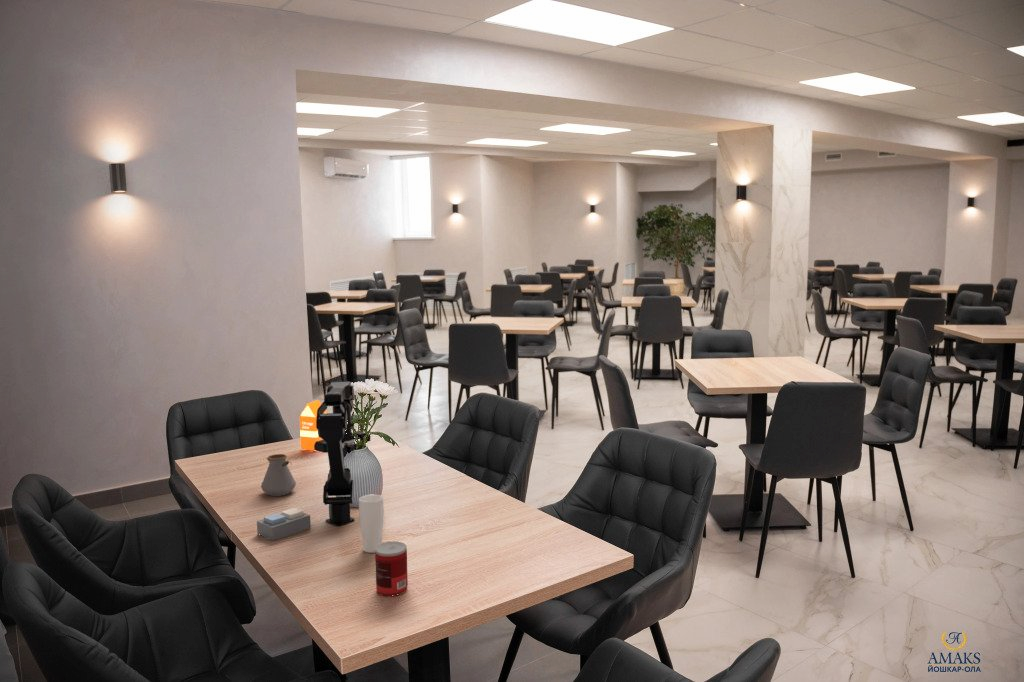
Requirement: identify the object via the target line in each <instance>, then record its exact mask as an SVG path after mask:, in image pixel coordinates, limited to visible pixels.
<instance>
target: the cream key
mask: <svg viewBox="0 0 1024 682" xmlns="http://www.w3.org/2000/svg"><path fill="white" fill-rule="evenodd" d="M281 513H282V515H283V516H286V518H287V519H294V518H297V517H300V516H303V513H304V511H303V510H301V509H299V508H296V507H293V508H289V509H286V510H284V511H281Z"/></svg>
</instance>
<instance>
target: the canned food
mask: <svg viewBox="0 0 1024 682" xmlns="http://www.w3.org/2000/svg"><path fill="white" fill-rule="evenodd" d="M374 556H375V557H374V558H375V559H374V561H375V563H374V564H375V588H376V592H377V594H378V595H380V594H382V595H386V596H385V597H388V596H391V597H393V596H392V595H397V594H400V593H402V592H404V591H405V590H406V591H407V589H408V582H409V581H408V579H409V578H408V550H407V544H406V543H404V542H401V541H395V540H394V541H393V540H392V541H386V542H382V544H380V545H378V546H377V547H376V548H375V553H374ZM406 591H405V592H406ZM405 592H404V593H405ZM402 594H403V593H402ZM382 595H381V596H382ZM400 595H401V594H400ZM397 596H398V595H397Z"/></svg>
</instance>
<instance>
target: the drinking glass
mask: <svg viewBox="0 0 1024 682" xmlns="http://www.w3.org/2000/svg"><path fill="white" fill-rule="evenodd" d="M384 513H385V506H384V496H382V495H380V494H373V493H372V494H365V495H362V496H360V497H359V498H358V515H359V516H358V517H359V523H360V531H361V532H360V533H361V541H362V550H363V552H365V553H368V554H375V548H376V547H377V546H378V545H380V544H382V543H383V530H384V529H383V528H384V517H385V515H384Z"/></svg>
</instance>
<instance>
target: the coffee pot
mask: <svg viewBox="0 0 1024 682" xmlns="http://www.w3.org/2000/svg"><path fill="white" fill-rule="evenodd" d="M287 458H288V455H287V454H283V453H279V454H272V455H268V456H267V457H266V460H267V461H268V463H269V464H268V467H267V470H266V472H265V474H264V478H263V480H262V482H261V486H260V488H261V490H262V491H263V492H264V493H265V494H268V496H269V495H271V496H270V497H282V496H281V495H283V496H287V495H288V494H290V493H291V492H292V491H293V490H294V489H295V487H296V485H297V482H296V480H295V478H294V477H293V475H292V473H291V470H290V467H289V466H288V465H289V463H290V466H292V462H291V461H289V460H286V459H287ZM290 491H291V492H290ZM286 494H287V495H286Z"/></svg>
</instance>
